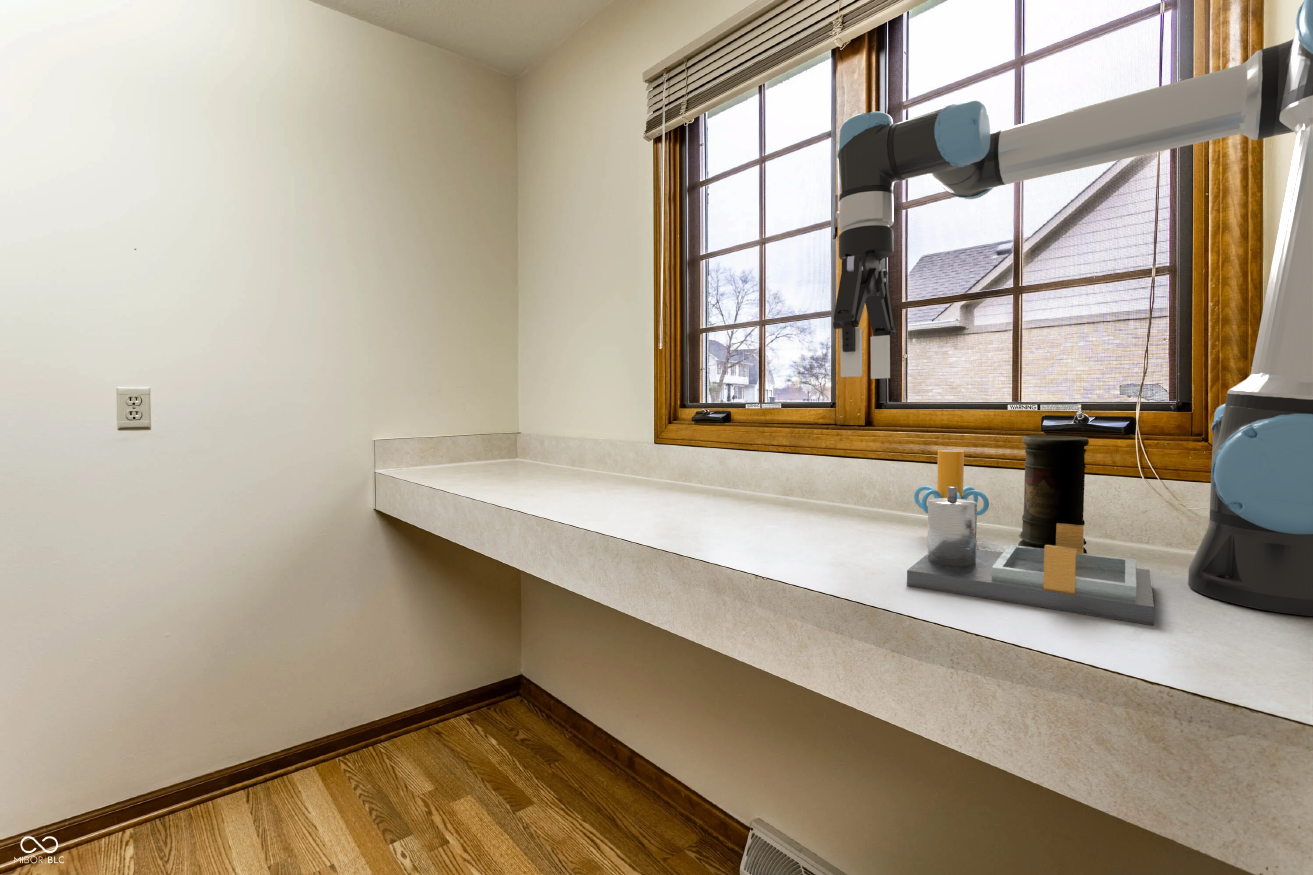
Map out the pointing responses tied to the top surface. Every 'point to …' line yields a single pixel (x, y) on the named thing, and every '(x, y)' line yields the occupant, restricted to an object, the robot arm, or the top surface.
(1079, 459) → the container
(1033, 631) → the top surface
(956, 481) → the orange cylinder with loops
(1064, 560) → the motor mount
